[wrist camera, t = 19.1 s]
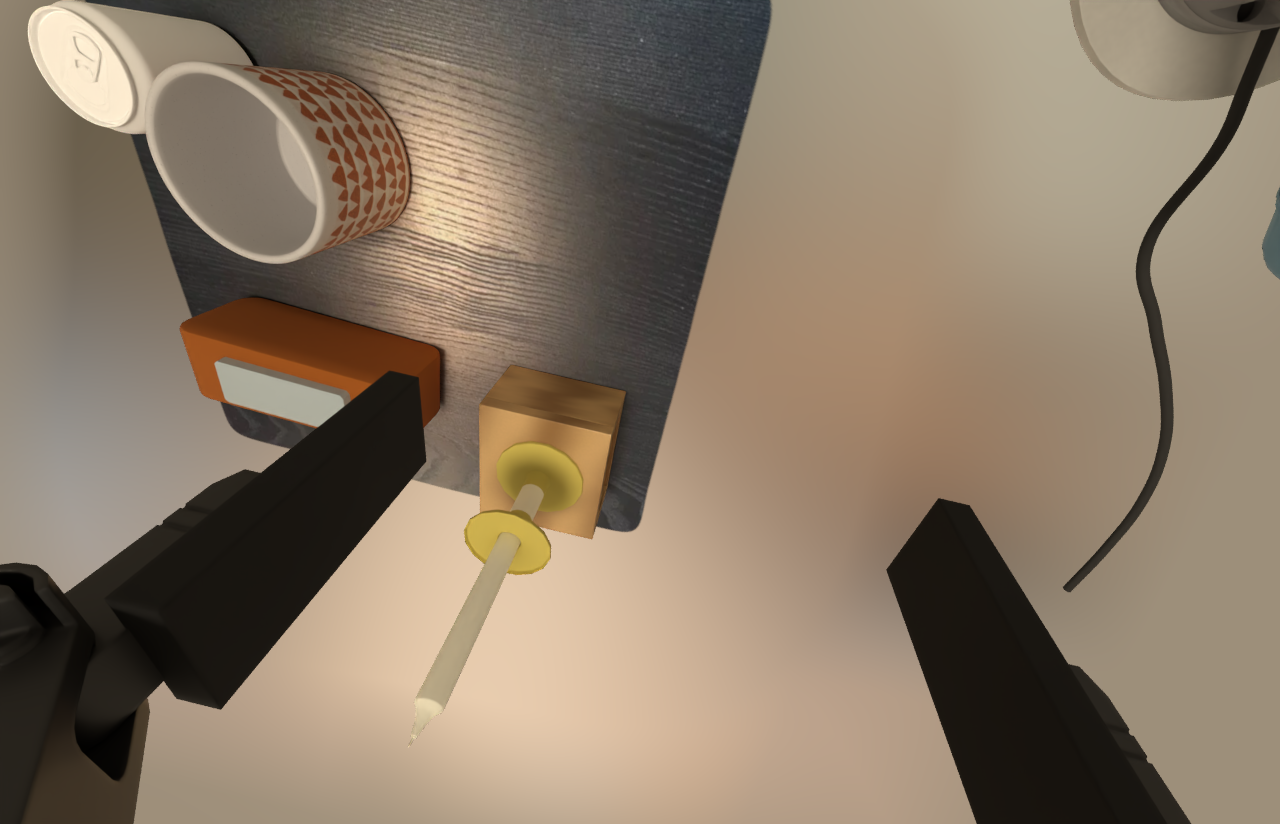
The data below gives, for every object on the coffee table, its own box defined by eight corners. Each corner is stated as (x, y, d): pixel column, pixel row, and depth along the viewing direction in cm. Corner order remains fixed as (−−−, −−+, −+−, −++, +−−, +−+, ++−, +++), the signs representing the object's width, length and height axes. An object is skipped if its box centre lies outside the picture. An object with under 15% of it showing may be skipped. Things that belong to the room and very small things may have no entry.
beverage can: (175, 88, 46) (22, 83, 36) (186, -2, 41) (16, -36, 31) (258, 147, 47) (135, 159, 37) (276, 67, 43) (143, 55, 33)
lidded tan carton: (625, 391, 57) (611, 435, 49) (606, 489, 65) (592, 539, 58) (510, 364, 57) (478, 404, 49) (507, 466, 66) (479, 513, 58)
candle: (550, 523, 57) (441, 793, 35) (480, 475, 55) (312, 733, 32) (601, 479, 52) (511, 761, 30) (527, 424, 50) (367, 688, 27)
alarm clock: (263, 354, 61) (180, 400, 52) (249, 292, 57) (154, 330, 47) (446, 405, 61) (396, 460, 52) (446, 348, 57) (391, 397, 47)
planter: (326, 33, 41) (190, 8, 31) (440, 178, 47) (358, 200, 36) (249, 136, 47) (111, 145, 36) (359, 256, 52) (266, 295, 41)
